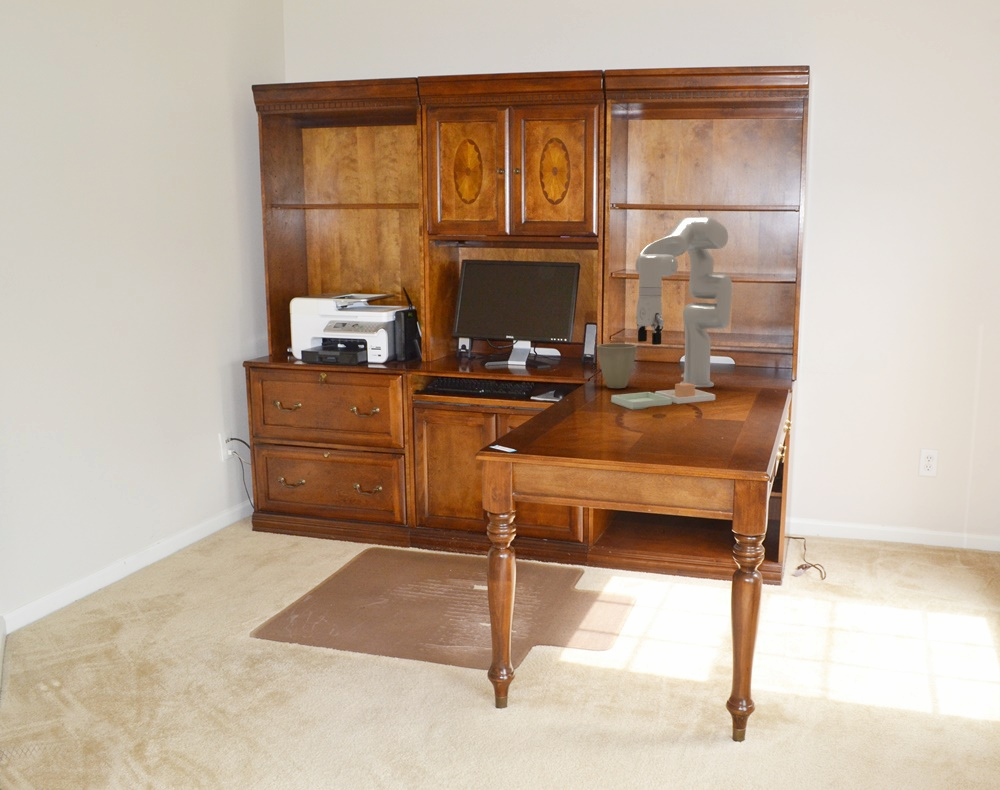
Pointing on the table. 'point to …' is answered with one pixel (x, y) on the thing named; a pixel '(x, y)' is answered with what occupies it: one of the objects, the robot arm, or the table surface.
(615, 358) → the plant pot
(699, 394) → the white tray
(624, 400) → the green tray
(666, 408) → the table surface
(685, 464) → the table surface
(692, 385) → the brown cube
